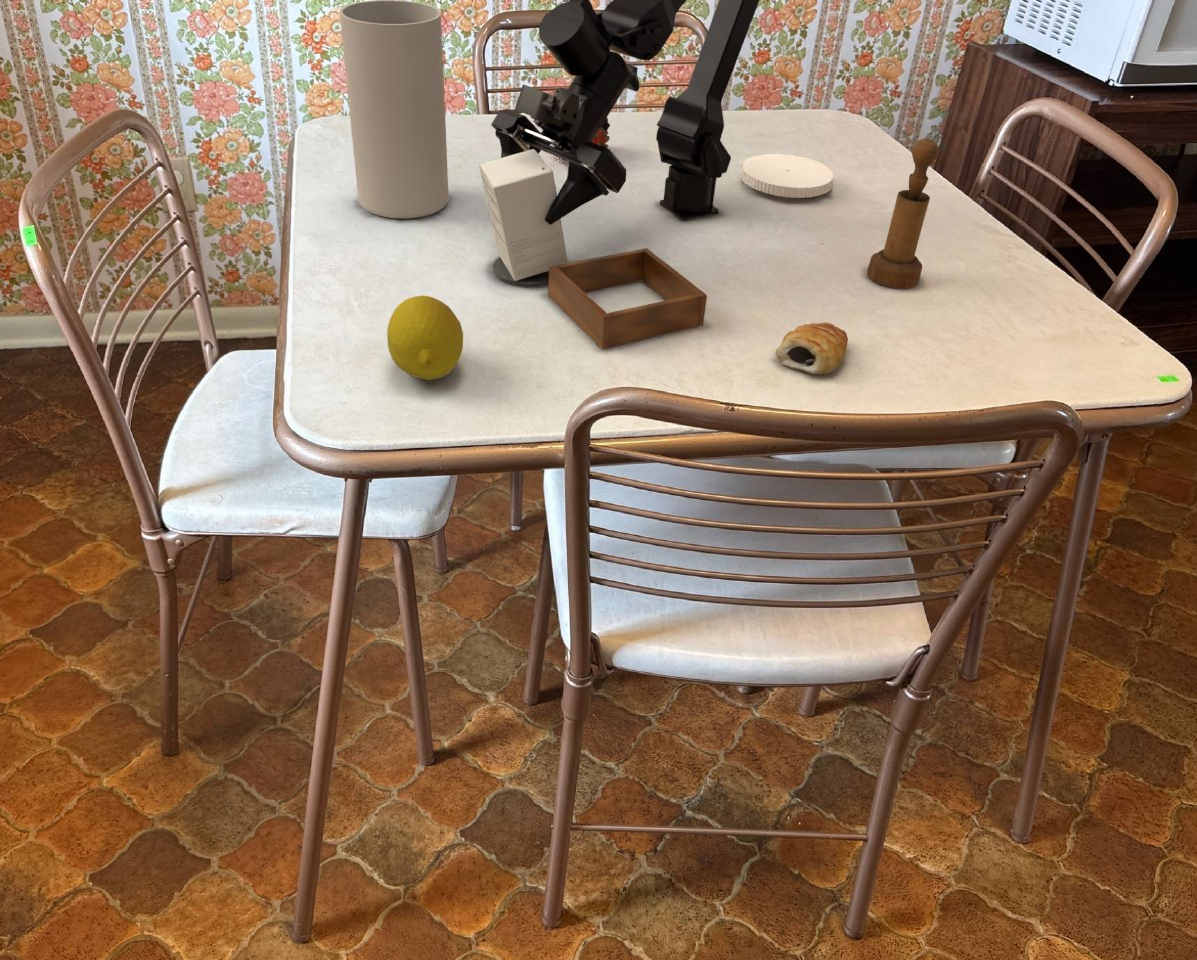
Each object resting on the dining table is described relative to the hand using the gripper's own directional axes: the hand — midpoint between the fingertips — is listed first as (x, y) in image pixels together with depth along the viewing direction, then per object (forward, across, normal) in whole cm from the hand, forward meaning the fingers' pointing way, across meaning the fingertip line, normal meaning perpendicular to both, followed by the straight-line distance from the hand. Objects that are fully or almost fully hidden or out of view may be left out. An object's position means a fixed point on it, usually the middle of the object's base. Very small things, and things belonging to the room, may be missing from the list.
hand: (521, 210), depth 119 cm
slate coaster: (+5, 0, +7) cm, 8 cm away
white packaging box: (+4, 0, +6) cm, 7 cm away
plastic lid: (-30, +4, +42) cm, 52 cm away
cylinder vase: (+5, -27, +8) cm, 28 cm away
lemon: (+22, +10, -10) cm, 26 cm away
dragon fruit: (-18, -24, +31) cm, 43 cm away
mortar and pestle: (-20, +32, +32) cm, 49 cm away
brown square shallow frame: (+4, +15, +8) cm, 18 cm away
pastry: (-2, +36, +14) cm, 39 cm away
